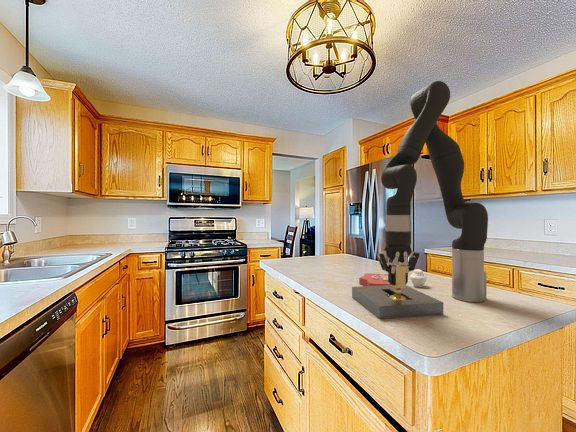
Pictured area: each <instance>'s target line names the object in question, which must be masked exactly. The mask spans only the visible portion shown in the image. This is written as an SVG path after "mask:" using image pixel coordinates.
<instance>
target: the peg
mask: <svg viewBox="0 0 576 432" xmlns="http://www.w3.org/2000/svg"><path fill="white" fill-rule="evenodd" d="M394 274H395V285H391V284H390V286H392V287H394V295H390V296H389V297H390V298H391V299H393V300H407V298H406V297H404V296H401V288H406V286H407V284H406V266H403V265H400V264H397V266H396V267H395V273H394Z"/></svg>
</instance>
